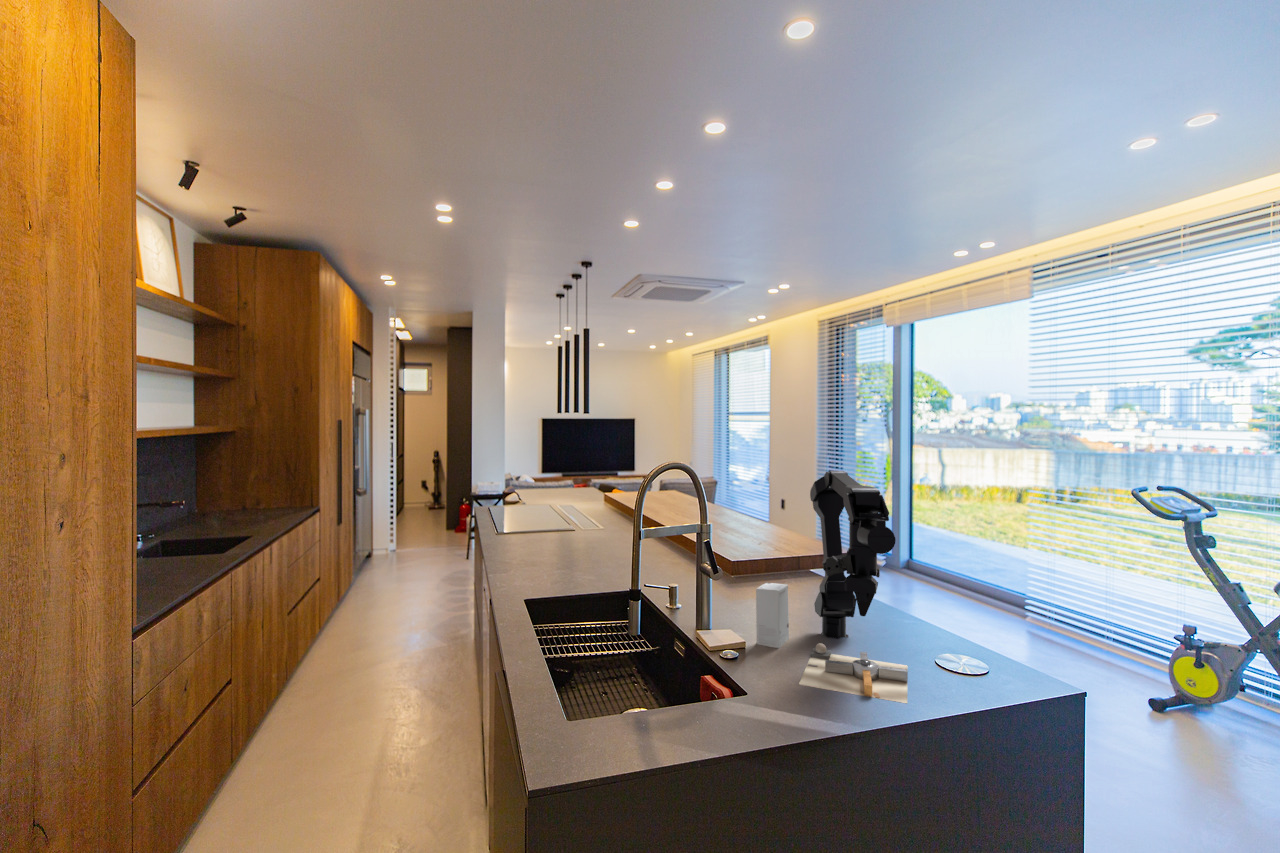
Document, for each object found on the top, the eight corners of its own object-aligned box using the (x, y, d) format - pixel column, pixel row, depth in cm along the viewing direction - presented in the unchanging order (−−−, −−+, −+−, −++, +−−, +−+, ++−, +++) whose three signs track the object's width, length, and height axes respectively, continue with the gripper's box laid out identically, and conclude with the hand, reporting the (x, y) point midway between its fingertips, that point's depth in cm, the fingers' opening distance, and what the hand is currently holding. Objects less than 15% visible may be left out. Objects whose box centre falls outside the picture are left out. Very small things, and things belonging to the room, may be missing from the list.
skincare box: (779, 654, 140) (779, 591, 140) (754, 650, 143) (755, 587, 143) (789, 643, 148) (789, 583, 148) (765, 639, 151) (765, 580, 151)
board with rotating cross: (813, 657, 139) (813, 639, 139) (907, 672, 130) (907, 653, 130) (798, 691, 120) (798, 670, 120) (907, 711, 112) (907, 688, 112)
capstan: (824, 691, 117) (824, 675, 117) (825, 657, 135) (825, 643, 135) (913, 702, 112) (913, 686, 112) (902, 666, 130) (902, 652, 130)
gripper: (829, 535, 143) (829, 600, 143) (819, 549, 126) (819, 623, 126) (879, 538, 139) (879, 606, 139) (876, 553, 122) (875, 630, 122)
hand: (862, 615), depth 131 cm, fingers closed
